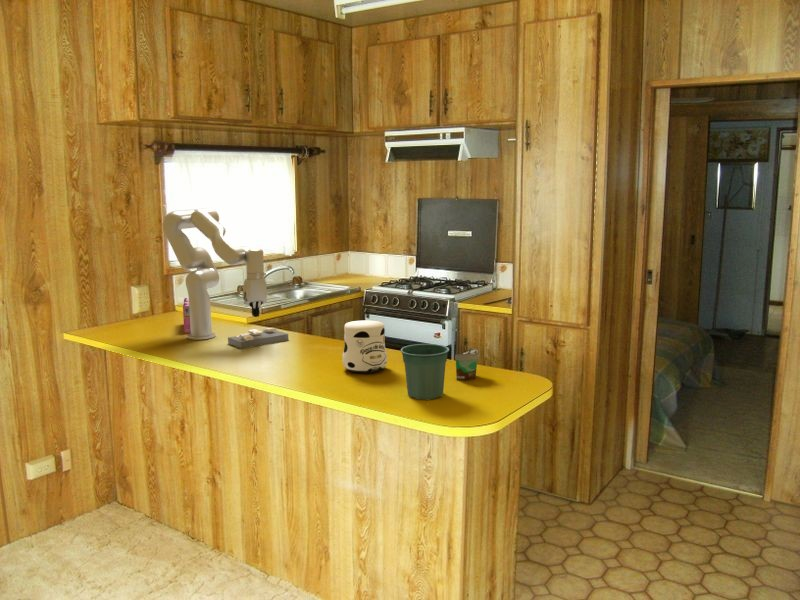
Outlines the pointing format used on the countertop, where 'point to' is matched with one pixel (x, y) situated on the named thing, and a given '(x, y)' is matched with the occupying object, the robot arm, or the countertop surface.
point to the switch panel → (258, 339)
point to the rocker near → (246, 336)
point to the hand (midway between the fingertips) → (255, 316)
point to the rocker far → (269, 329)
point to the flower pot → (425, 370)
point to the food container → (466, 365)
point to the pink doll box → (186, 316)
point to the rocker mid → (255, 332)
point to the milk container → (364, 346)
